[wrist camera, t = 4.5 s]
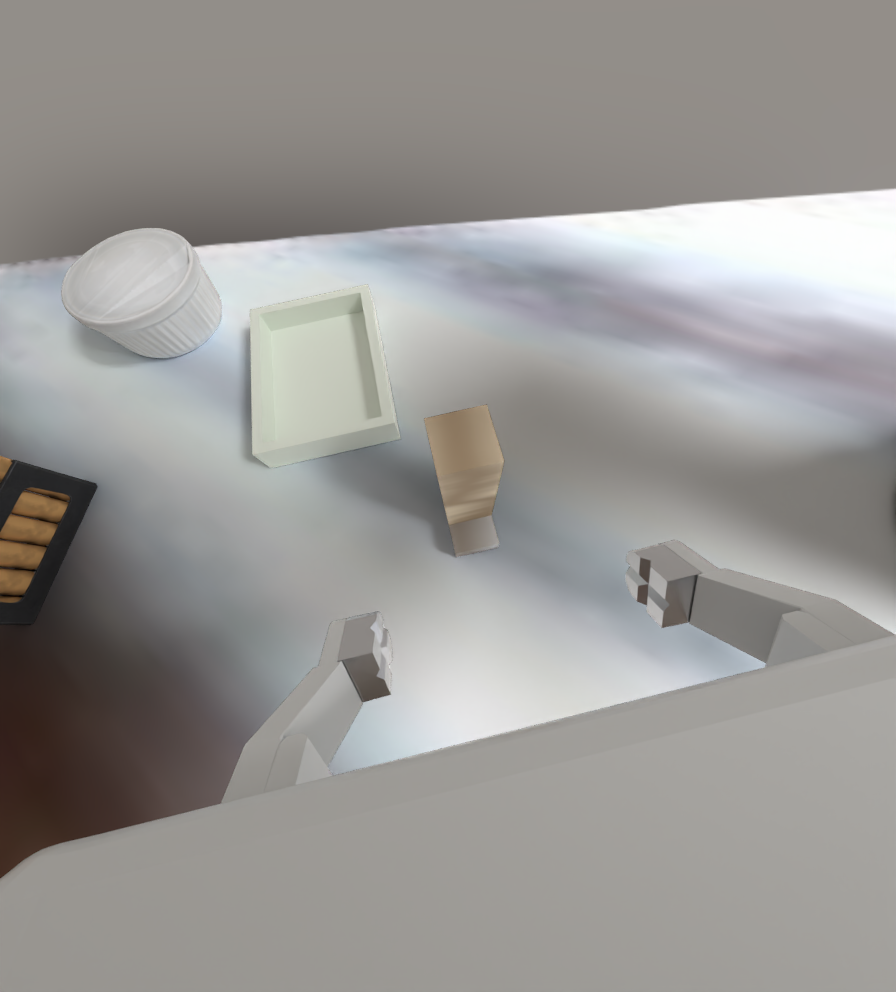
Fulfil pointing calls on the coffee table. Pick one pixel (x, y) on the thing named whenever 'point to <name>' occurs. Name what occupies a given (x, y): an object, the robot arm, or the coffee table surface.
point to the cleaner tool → (467, 475)
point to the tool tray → (319, 378)
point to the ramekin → (144, 293)
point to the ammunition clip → (35, 533)
